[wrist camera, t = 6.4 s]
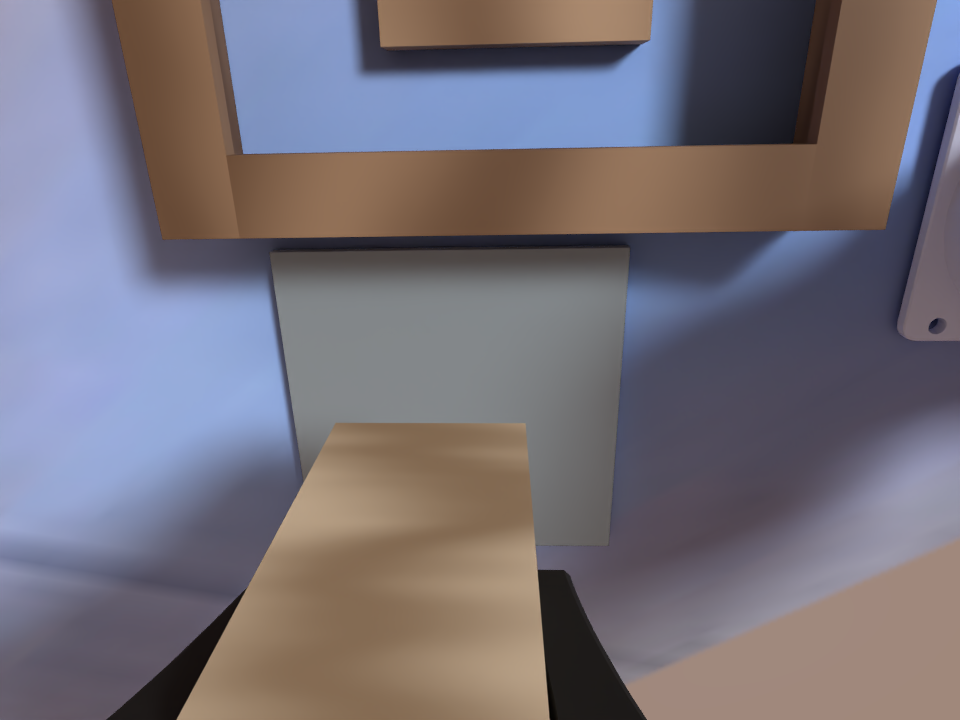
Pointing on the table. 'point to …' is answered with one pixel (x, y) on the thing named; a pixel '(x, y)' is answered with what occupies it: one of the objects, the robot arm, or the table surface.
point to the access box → (525, 172)
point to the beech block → (393, 587)
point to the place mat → (467, 356)
